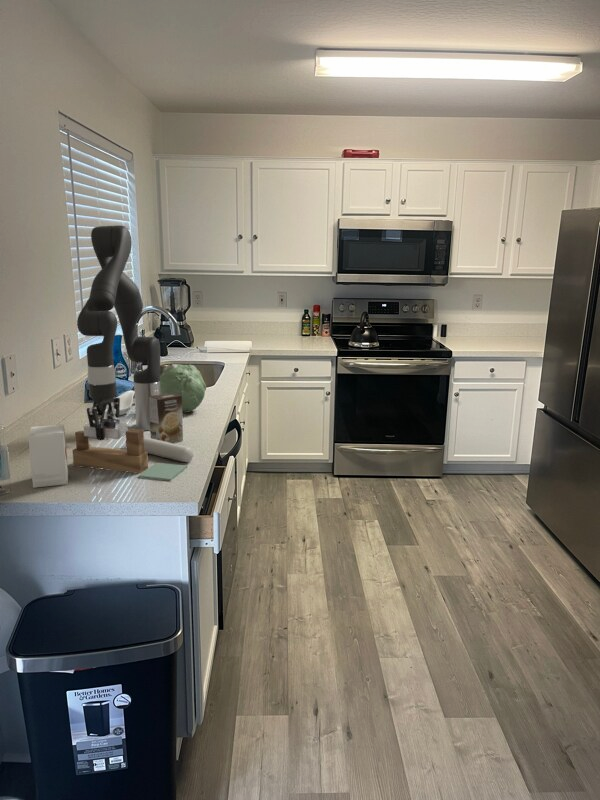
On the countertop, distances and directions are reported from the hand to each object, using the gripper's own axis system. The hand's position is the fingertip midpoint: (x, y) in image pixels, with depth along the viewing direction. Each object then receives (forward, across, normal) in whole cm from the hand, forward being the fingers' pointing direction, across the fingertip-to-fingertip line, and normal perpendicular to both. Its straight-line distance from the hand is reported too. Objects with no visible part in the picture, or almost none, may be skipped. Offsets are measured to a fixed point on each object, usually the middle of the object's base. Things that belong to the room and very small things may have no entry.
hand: (106, 436), depth 171 cm
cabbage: (+10, -64, -5) cm, 65 cm away
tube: (+7, -10, +10) cm, 16 cm away
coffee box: (+10, -27, +6) cm, 29 cm away
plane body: (+9, 0, +1) cm, 9 cm away
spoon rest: (+11, -60, -29) cm, 67 cm away
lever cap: (-1, 0, 0) cm, 1 cm away
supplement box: (+9, +14, -9) cm, 19 cm away
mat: (+9, 0, +18) cm, 20 cm away
